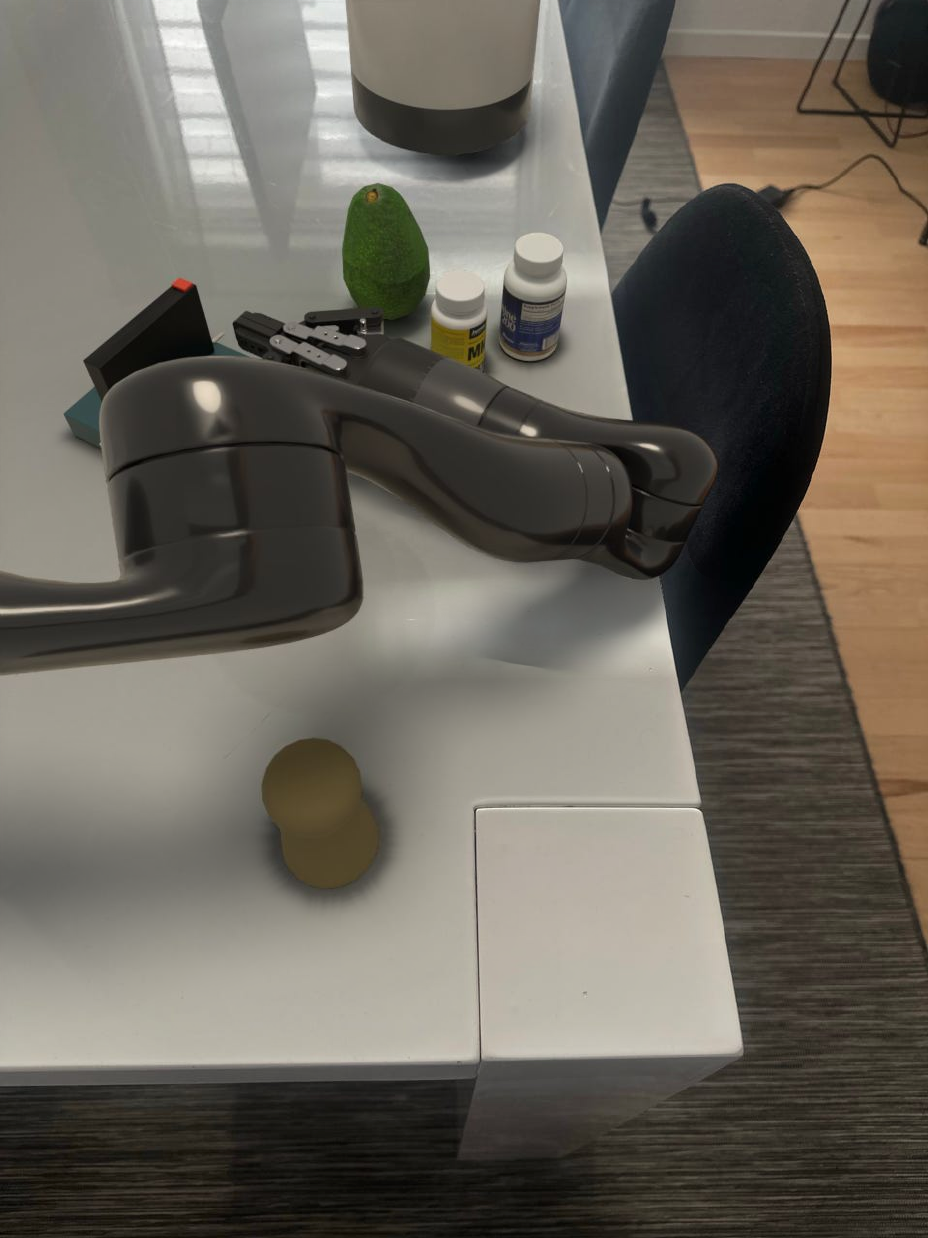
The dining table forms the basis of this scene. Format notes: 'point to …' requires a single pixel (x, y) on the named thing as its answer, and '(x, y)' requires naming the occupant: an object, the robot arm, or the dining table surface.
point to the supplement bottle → (460, 318)
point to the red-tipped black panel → (153, 337)
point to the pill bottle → (533, 298)
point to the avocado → (384, 253)
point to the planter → (442, 71)
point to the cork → (320, 812)
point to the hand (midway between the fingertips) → (240, 326)
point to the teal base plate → (88, 407)
